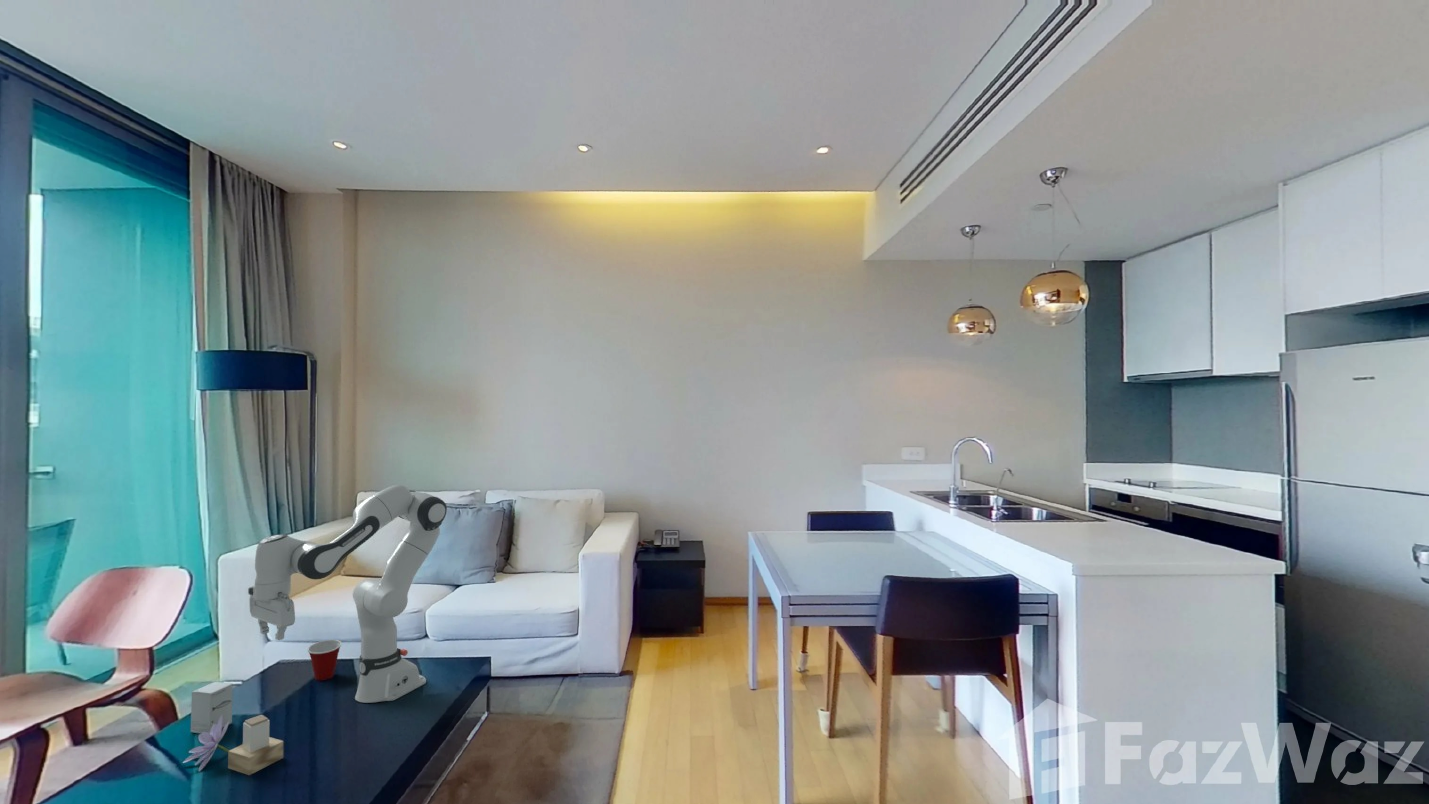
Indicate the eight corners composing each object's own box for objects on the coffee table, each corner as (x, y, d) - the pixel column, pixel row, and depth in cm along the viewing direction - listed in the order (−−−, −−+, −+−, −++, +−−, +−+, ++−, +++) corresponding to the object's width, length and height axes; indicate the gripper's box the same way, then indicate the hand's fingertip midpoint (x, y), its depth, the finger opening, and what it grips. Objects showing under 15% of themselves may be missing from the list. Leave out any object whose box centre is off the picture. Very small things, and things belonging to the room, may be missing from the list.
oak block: (262, 752, 177) (262, 734, 177) (283, 758, 173) (283, 740, 173) (228, 769, 168) (228, 750, 168) (249, 776, 165) (249, 757, 165)
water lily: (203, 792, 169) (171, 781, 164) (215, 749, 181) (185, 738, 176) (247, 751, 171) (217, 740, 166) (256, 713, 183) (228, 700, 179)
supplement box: (209, 735, 185) (210, 693, 186) (189, 732, 187) (190, 691, 187) (233, 723, 193) (233, 682, 193) (214, 720, 194) (214, 680, 194)
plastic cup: (303, 685, 219) (303, 652, 219) (311, 673, 229) (311, 641, 229) (338, 681, 222) (338, 648, 223) (344, 669, 233) (344, 638, 233)
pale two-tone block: (261, 740, 174) (262, 713, 174) (269, 745, 171) (269, 718, 171) (242, 747, 170) (243, 720, 170) (249, 752, 167) (250, 725, 167)
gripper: (301, 592, 181) (301, 639, 180) (268, 582, 191) (268, 626, 191) (277, 598, 175) (276, 646, 175) (245, 587, 186) (244, 633, 185)
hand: (272, 636), depth 183 cm, fingers open, 8 cm apart
